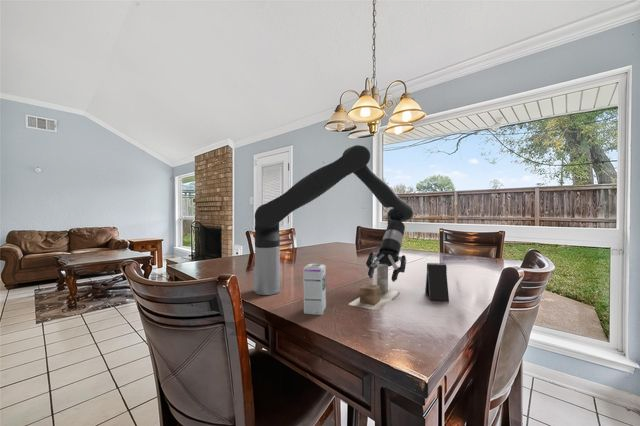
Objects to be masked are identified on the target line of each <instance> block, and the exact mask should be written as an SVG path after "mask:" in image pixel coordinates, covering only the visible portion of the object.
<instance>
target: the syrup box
mask: <svg viewBox="0 0 640 426" xmlns="http://www.w3.org/2000/svg"><path fill="white" fill-rule="evenodd" d="M302 270H303V273H302V275H303V276H302V277H303V279H302V280H303V285H302V286H303V313H304V314H305V315H306V314H309V315H318V316H322V315H324V313H325V312H326V309H327V288H326V287H327V282H326V281H327V280H326V278H327V276H326V273H327V272H326V271H327V270H326V264H324V263H308V264H307V265H306V266H304V267H303V269H302Z"/></svg>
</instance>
